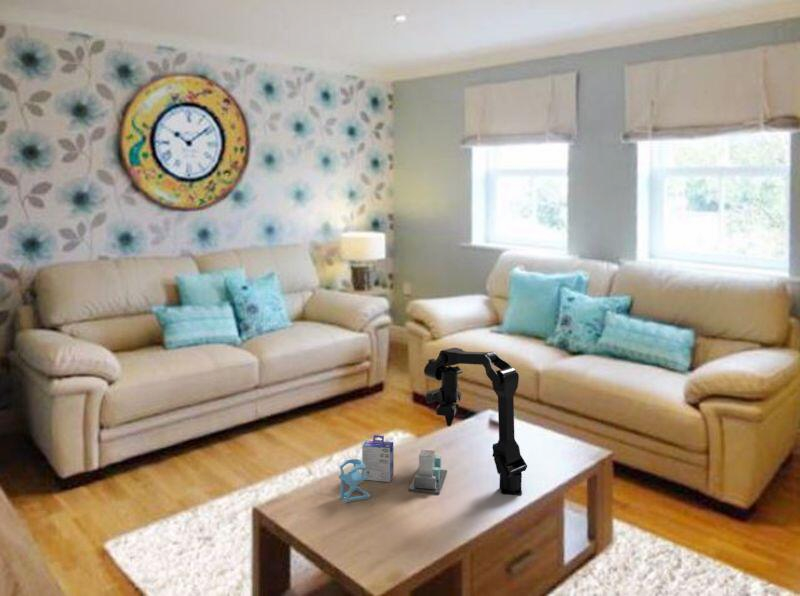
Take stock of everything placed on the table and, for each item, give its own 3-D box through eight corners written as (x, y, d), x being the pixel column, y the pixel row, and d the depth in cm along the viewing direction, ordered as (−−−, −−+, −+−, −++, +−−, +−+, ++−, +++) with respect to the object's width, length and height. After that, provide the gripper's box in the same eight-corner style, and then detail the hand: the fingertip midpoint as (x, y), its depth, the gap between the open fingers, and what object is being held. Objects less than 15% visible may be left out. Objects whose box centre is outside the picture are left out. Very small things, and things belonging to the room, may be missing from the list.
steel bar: (434, 480, 216) (434, 450, 214) (432, 486, 211) (432, 456, 209) (421, 479, 217) (421, 449, 215) (418, 485, 212) (418, 455, 210)
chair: (335, 496, 207) (334, 461, 205) (357, 488, 212) (356, 454, 210) (348, 505, 201) (347, 469, 199) (370, 497, 206) (370, 462, 204)
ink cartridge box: (394, 475, 221) (394, 435, 219) (390, 482, 216) (390, 441, 213) (366, 472, 223) (365, 433, 221) (362, 480, 218) (361, 439, 215)
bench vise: (418, 469, 225) (418, 457, 225) (447, 472, 223) (447, 459, 222) (408, 491, 210) (408, 477, 209) (439, 494, 208) (439, 481, 207)
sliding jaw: (424, 464, 227) (424, 454, 227) (443, 466, 226) (444, 456, 225) (417, 478, 217) (417, 468, 216) (438, 480, 215) (438, 470, 215)
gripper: (431, 374, 238) (431, 414, 241) (421, 390, 220) (421, 434, 223) (461, 376, 236) (461, 417, 238) (454, 393, 218) (453, 437, 221)
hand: (449, 425), depth 230 cm, fingers closed
